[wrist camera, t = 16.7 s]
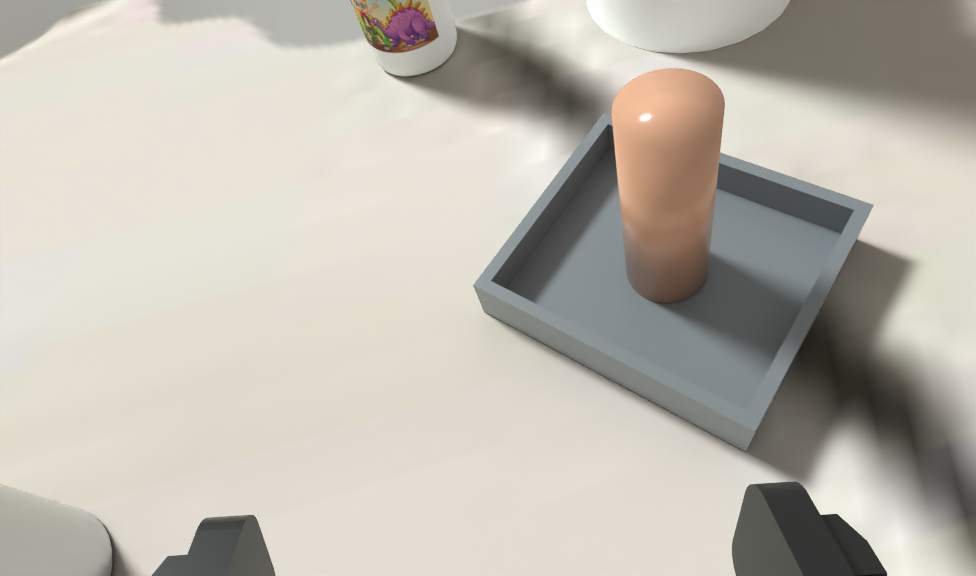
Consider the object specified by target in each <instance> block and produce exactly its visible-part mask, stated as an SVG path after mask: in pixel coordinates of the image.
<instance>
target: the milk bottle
mask: <svg viewBox="0 0 976 576" xmlns="http://www.w3.org/2000/svg"><path fill="white" fill-rule="evenodd" d="M350 1H351V3H352V6H353V8H354V10H355V13H356V15H357V18H358V20H359V22H360V25H361V27H362V29H363V32H364V34H365V37H366V39H367V41H368V44H369V46H370V48H371V51H372V53H373V55H374V57H375V59H376V61H377V63H378V64H379V66H380V67H382V68H383V69H384V70H385V71H387V72H389V73H391V74H394V75H397V76H415V75H420V74H423V73H426V72H429V71H431V70H433V69H435V68H437V67H438V66H440V65H441V64H443V63H444V62H445V61H446V60H447V59H448V58H449V57H450V55H451V54H452V53H453V51H454V49H455V46H456V41H457V31H456V27H455V22H454V19H453V15H452V12H451V8H450V4H449V1H448V0H350Z"/></svg>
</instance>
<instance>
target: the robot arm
mask: <svg viewBox="0 0 976 576" xmlns="http://www.w3.org/2000/svg"><path fill="white" fill-rule="evenodd" d="M732 557H733V564H734V569H735V573H736V576H887V572H886V571H885V569H884V567H883V566H882V564H881V563H880V561H879V559H878V558H877V556H876V555H875V553H874V551H873V550H872V548H871V546H870V545H869V543H868V542H867V540H865V539H864V538H863V537H862V536H861V535H860V534H859V533H858V532H857V531H855V530H854V529H853V528H852V527H851V526H850V525H849V524H848V523H846V522H845V521H844V520H843V519H842V518H841V517H840V516H839V515H838V514H829V515H820V514H819V512H818V510H817V508H816V507H815V505H814V503H813V501H812V500H811V498H810V496H809V495H808V493H807V491H806V490H805V488H804V487H803V486H802V485H801V484H800V483H798V482H781V483H765V484H751V485H749V486H748V487H747V489H746V492H745V495H744V499H743V503H742V507H741V511H740V515H739V518H738V522H737V526H736V530H735V534H734V538H733V543H732ZM111 570H112V547H111V543H110V539H109V535H108V533H107V531H106V530H105V528H104V526H103V524H102V523H101V522H100V521H99V520H98V519H97V518H96V517H95V516H94V515H92V514H90V513H88V512H86V511H84V510H81V509H78V508H75V507H71V506H68V505H65V504H62V503H59V502H56V501H52V500H49V499H46V498H43V497H40V496H37V495H34V494H31V493H28V492H24V491H21V490H18V489H15V488H12V487H8V486H5V485H2V484H0V576H111ZM152 576H275V571H274V568H273V565H272V562H271V559H270V556H269V553H268V550H267V547H266V544H265V541H264V538H263V536H262V533H261V530H260V527H259V524H258V521H257V519H256V517H255V516H254V515H243V516H227V517H212V518H205V519H204V520H203V521H202V522H201V523H200V525H199V526H198V529H197V531H196V534H195V536H194V539H193V542H192V544H191V547H190V549H189V552H188V555H178V556H168V557H167V558H166V559H165V560H164V561H163V563H162V564H161V565H160V566H159V567H158V569H157V570H156V571H155V572H154V573H153V575H152Z"/></svg>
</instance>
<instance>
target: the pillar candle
mask: <svg viewBox="0 0 976 576" xmlns="http://www.w3.org/2000/svg"><path fill="white" fill-rule="evenodd" d="M724 107H725V102H724V97H723V94H722V92H721V90H720V88H719V87H718V86H717V85H716V84H715V83H714V82H713V81H712V80H711V79H709V78H708V77H706V76H704V75H703V74H700V73H698V72H695V71H691V70H686V69H677V68H670V69H661V70H655V71H652V72H648V73H646V74H643V75H641V76H639V77H637V78H635V79H633V80H632V81H630V82H629V83H628V84H626V85H625V86H624V87H623V88H622V89H621V90H620V91H619V93H618V94H617V96H616V97H615V99H614V102H613V105H612V124H613V135H614V145H615V156H616V167H617V177H618V188H619V199H620V209H621V220H622V231H623V241H624V252H625V262H626V273H627V278H628V281H629V283H630V285H631V286H632V288H633V289H634V290H635V291H636V292H637V293H638V294H639V295H641V296H642V297H644V298H646V299H648V300H651V301H654V302H658V303H676V302H680V301H683V300H686V299H688V298H690V297H691V296H693V295H694V294H696V293H697V292H698V291H699V290H700V289H701V288H702V286H703V285H704V283H705V281H706V279H707V275H708V265H709V256H710V246H711V236H712V226H713V216H714V206H715V196H716V186H717V176H718V167H719V157H720V147H721V137H722V127H723V117H724Z"/></svg>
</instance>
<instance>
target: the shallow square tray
mask: <svg viewBox="0 0 976 576" xmlns="http://www.w3.org/2000/svg"><path fill="white" fill-rule="evenodd" d="M872 207H873V205H872V204H869V203H866V202H863V201H860V200H858V199H855V198H852V197H849V196H846V195H843V194H840V193H837V192H834V191H831V190H828V189H825V188H822V187H819V186H817V185H814V184H811V183H808V182H805V181H802V180H799V179H796V178H793V177H790V176H787V175H784V174H781V173H778V172H775V171H773V170H770V169H767V168H764V167H761V166H758V165H755V164H752V163H749V162H746V161H743V160H740V159H737V158H734V157H731V156H729V155H726V154H723V153H720V157H719V167H718V176H717V186H716V196H715V206H714V216H713V226H712V236H711V246H710V256H709V265H708V275H707V279H706V281H705V283H704V285H703V286H702V288H701V289H700V290H699V291H698V292H697V293H696V294H694V295H693V296H691V297H690V298H688V299H686V300H683V301H680V302H676V303H658V302H654V301H651V300H648V299H646V298H644V297H642V296H641V295H639V294H638V293H637V292H636V291H635V290H634V289H633V288H632V286H631V285H630V283H629V281H628V278H627V273H626V262H625V252H624V241H623V231H622V220H621V209H620V199H619V188H618V177H617V167H616V156H615V145H614V135H613V124H612V116H611V115H608V114H605V113H603V114H602V116H601V117H600V118H599V120H598V121H597V122H596V124H595V125H594V126H593V128H592V129H591V130H590V132H589V133H588V134H587V136H586V137H585V138H584V140H583V141H582V142H581V144H580V145H579V146H578V148H577V149H576V150H575V151H574V153H573V154H572V155H571V157H570V158H569V159H568V161H567V162H566V163H565V165H564V166H563V167H562V169H561V170H560V171H559V173H558V174H557V175H556V177H555V178H554V179H553V181H552V182H551V183H550V185H549V186H548V187H547V188H546V190H545V191H544V192H543V194H542V195H541V196H540V198H539V199H538V200H537V202H536V203H535V204H534V206H533V207H532V208H531V210H530V211H529V212H528V214H527V215H526V216H525V218H524V219H523V220H522V222H521V223H520V224H519V226H518V227H517V228H516V229H515V231H514V232H513V233H512V235H511V236H510V237H509V239H508V240H507V241H506V243H505V244H504V245H503V247H502V248H501V249H500V251H499V252H498V253H497V255H496V256H495V257H494V259H493V260H492V261H491V263H490V264H489V265H488V266H487V268H486V269H485V270H484V272H483V273H482V274H481V276H480V277H479V278H478V280H477V281H476V282H475V284H474V285H473V286H474V288H475V291H476V293H477V296H478V298H479V300H480V303H481V305H482V308H483V310H484V312H485V313H487V314H489V315H491V316H493V317H495V318H497V319H498V320H500V321H502V322H504V323H506V324H508V325H510V326H511V327H513V328H515V329H517V330H519V331H521V332H523V333H525V334H526V335H528V336H530V337H532V338H534V339H536V340H538V341H539V342H541V343H543V344H545V345H547V346H549V347H551V348H553V349H554V350H556V351H558V352H560V353H562V354H564V355H566V356H567V357H569V358H571V359H573V360H575V361H577V362H579V363H580V364H582V365H584V366H586V367H588V368H590V369H592V370H594V371H595V372H597V373H599V374H601V375H603V376H605V377H607V378H608V379H610V380H612V381H614V382H616V383H618V384H620V385H622V386H623V387H625V388H627V389H629V390H631V391H633V392H635V393H636V394H638V395H640V396H642V397H644V398H646V399H648V400H650V401H651V402H653V403H655V404H657V405H659V406H661V407H663V408H664V409H666V410H668V411H670V412H672V413H674V414H676V415H677V416H679V417H681V418H683V419H685V420H687V421H689V422H691V423H692V424H694V425H696V426H698V427H700V428H702V429H704V430H705V431H707V432H709V433H711V434H713V435H715V436H717V437H719V438H720V439H722V440H724V441H726V442H728V443H730V444H732V445H733V446H735V447H737V448H739V449H741V450H743V451H745V452H746V450H747V448H748V447H749V445H750V443H751V441H752V439H753V437H754V435H755V433H756V431H757V429H758V427H759V426H760V424H761V422H762V420H763V418H764V416H765V414H766V412H767V410H768V408H769V406H770V404H771V403H772V401H773V399H774V397H775V395H776V393H777V391H778V389H779V387H780V385H781V383H782V382H783V380H784V378H785V376H786V374H787V372H788V370H789V368H790V366H791V364H792V362H793V360H794V359H795V357H796V355H797V353H798V351H799V349H800V347H801V345H802V343H803V341H804V339H805V338H806V336H807V334H808V332H809V330H810V328H811V326H812V324H813V322H814V320H815V318H816V317H817V315H818V313H819V311H820V309H821V307H822V305H823V303H824V301H825V299H826V297H827V295H828V294H829V292H830V290H831V288H832V286H833V284H834V282H835V280H836V278H837V276H838V274H839V273H840V271H841V269H842V267H843V265H844V263H845V261H846V259H847V257H848V255H849V253H850V251H851V250H852V248H853V246H854V244H855V242H856V240H857V238H858V236H859V234H860V232H861V230H862V228H863V226H864V224H865V222H866V220H867V218H868V216H869V214H870V211H871V209H872Z"/></svg>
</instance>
